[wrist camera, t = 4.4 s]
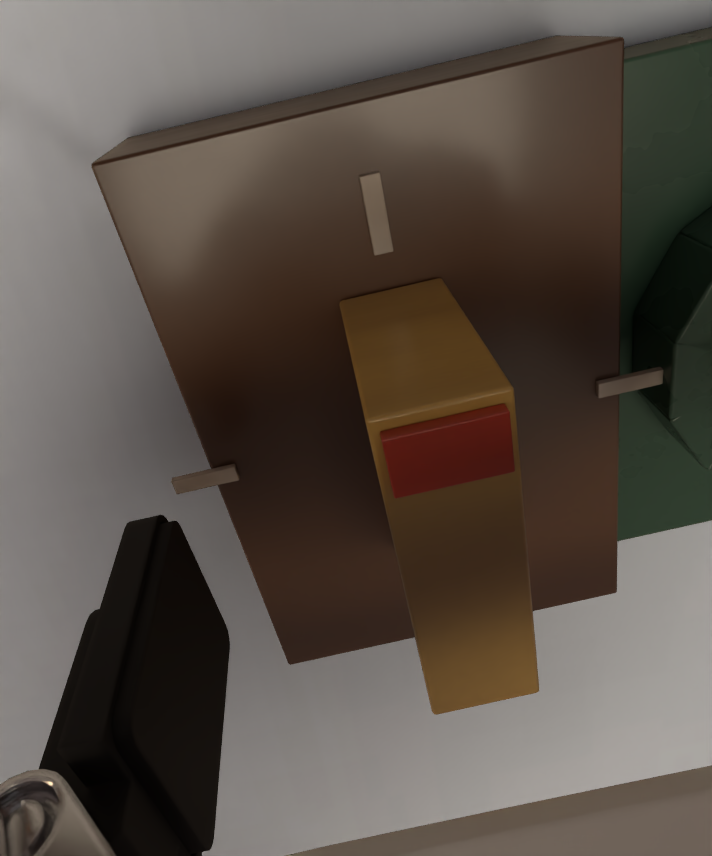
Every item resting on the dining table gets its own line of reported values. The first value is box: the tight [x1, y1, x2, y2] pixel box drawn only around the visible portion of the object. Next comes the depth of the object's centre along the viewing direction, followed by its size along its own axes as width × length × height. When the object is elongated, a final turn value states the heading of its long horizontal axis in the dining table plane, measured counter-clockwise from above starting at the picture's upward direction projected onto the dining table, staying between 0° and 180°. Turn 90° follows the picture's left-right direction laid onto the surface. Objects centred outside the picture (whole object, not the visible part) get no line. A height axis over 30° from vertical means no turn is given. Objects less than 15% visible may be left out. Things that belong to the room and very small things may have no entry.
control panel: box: [92, 36, 664, 665], centre depth 15 cm, size 13×11×3 cm
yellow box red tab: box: [339, 278, 539, 715], centre depth 12 cm, size 6×2×5 cm, turn 11°
